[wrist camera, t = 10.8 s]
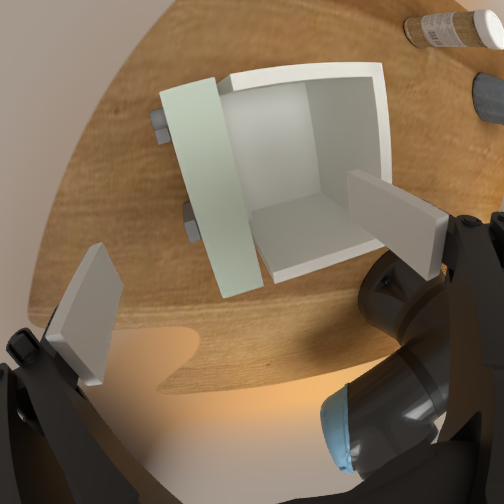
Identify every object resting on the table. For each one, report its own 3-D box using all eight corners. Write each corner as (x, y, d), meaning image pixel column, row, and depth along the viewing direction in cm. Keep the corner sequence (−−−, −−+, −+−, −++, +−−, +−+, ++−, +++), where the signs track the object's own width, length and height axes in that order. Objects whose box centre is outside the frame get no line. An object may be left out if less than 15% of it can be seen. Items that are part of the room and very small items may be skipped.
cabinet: (325, 195, 31) (390, 244, 21) (192, 233, 30) (201, 306, 19) (307, 73, 24) (381, 62, 14) (154, 105, 22) (130, 102, 12)
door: (234, 220, 30) (263, 286, 20) (196, 231, 30) (207, 303, 20) (201, 90, 23) (214, 77, 13) (157, 103, 22) (137, 99, 12)
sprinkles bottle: (430, 42, 23) (511, 45, 12) (413, 52, 24) (499, 55, 12) (414, 13, 21) (495, 6, 9) (396, 22, 21) (482, 13, 10)
